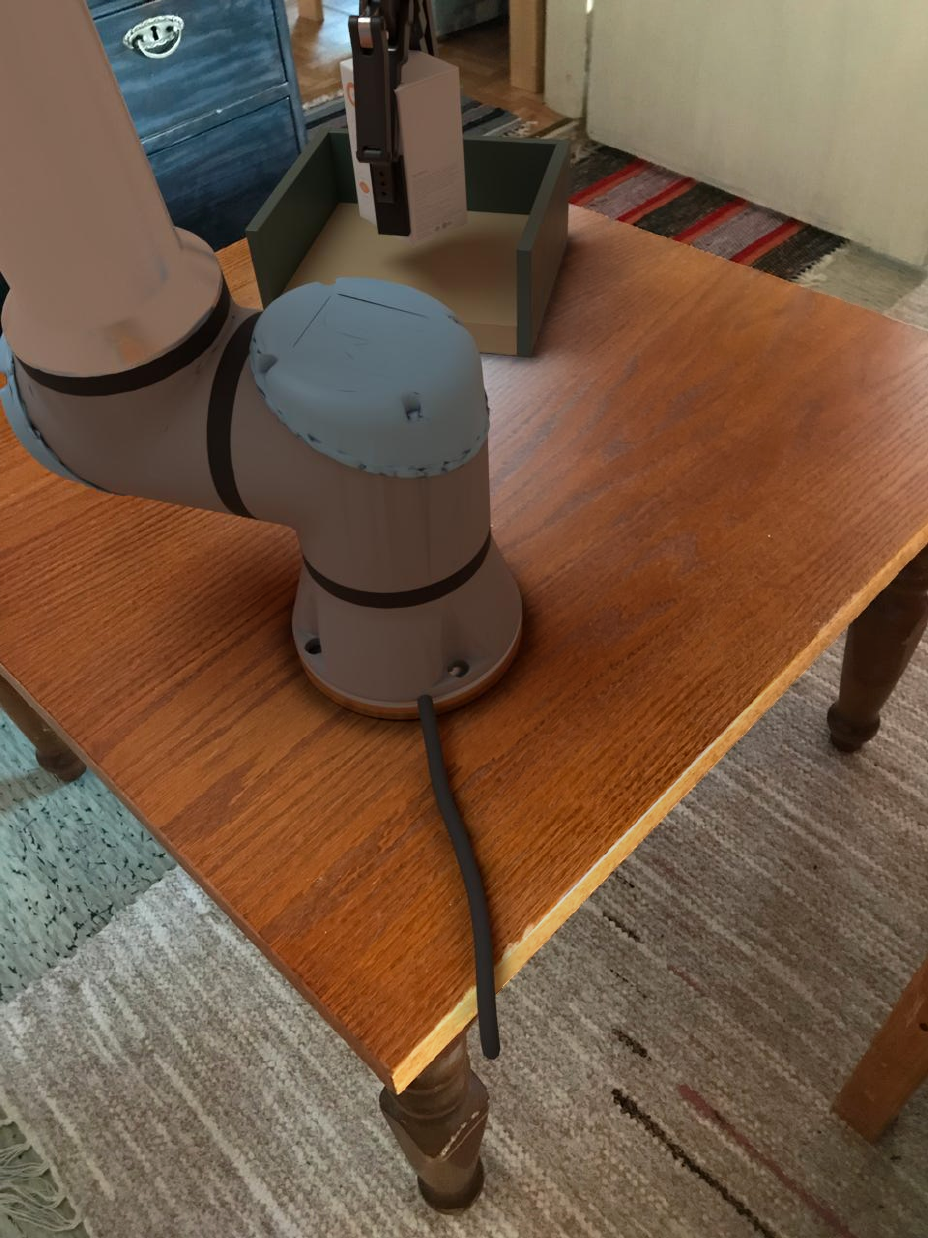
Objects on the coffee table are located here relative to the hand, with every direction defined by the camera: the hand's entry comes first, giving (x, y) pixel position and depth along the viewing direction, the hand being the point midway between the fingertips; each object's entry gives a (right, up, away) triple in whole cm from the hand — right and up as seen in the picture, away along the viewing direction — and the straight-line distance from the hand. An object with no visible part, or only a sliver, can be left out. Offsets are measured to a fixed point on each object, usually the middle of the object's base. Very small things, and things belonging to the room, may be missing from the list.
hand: (410, 203), depth 87 cm
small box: (0, -1, +1) cm, 2 cm away
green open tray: (+1, -4, +8) cm, 9 cm away
